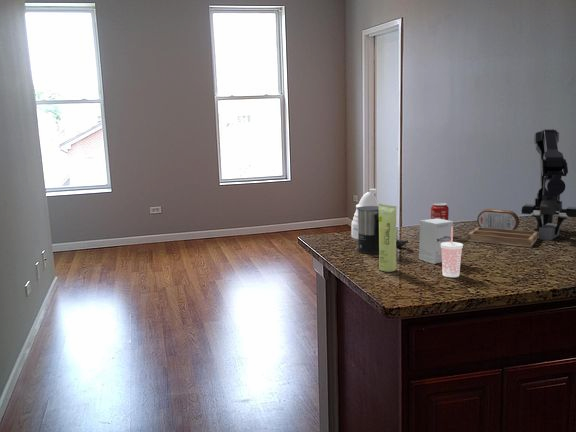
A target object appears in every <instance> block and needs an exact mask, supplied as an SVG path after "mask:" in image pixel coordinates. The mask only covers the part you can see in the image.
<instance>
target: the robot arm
mask: <svg viewBox="0 0 576 432" xmlns="http://www.w3.org/2000/svg"><path fill="white" fill-rule="evenodd" d="M559 142H560V132H559V131H557V130H556V129H554V128H552V129H551V128H550V129H549V128H548V129H542V130H541V131H537V132H535V133H534V136H533V143H534V144H535V150H536V152H537V153H538V154H539V162H540V163H539V164H540V165H539V170H540V172H539V175H540V177H539V178H540V183H539V184H540V185H539V186H540V188H539V189H538V191H537V193H536V197H535V198H534V199H533V200H534V201H533V204H530V203H529V204H528V203H527V204H526V203H525V204H523V206H522V207H521V214H522V215H531V214H532V215H531V217H534V218H535V220H536V226H535V227H534V228H533V230H535V231H539V228H540V227H542V226H544V225H546V224H548V223H552V224H554V216H555V215H556V216H557V215H558V217H557V221H556V224H557V226H556V233H555V235H557V233H558V231H559V232H560V230H561V229H560V228H561V226H562V224H563V222H564V221H565V220H567V219H568V218H576V206H567V208H563V200H562V201H561V195H562V194H563V193H564V192H565V190H566V183H565V181H564V180H562V177H567V175H568V173H569V169H568V161H567V159H565V157H564V154H563V153H562V152H561V151H559V147H558V143H559ZM559 229H560V230H559Z"/></svg>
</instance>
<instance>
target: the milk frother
mask: <svg viewBox="0 0 576 432" xmlns="http://www.w3.org/2000/svg"><path fill="white" fill-rule="evenodd" d="M356 209H358V239H357V240H358V241H357V242H358V243H357V251H358V253H362V254H379V206H363V207H358V208H356ZM406 244H409V240H401V239H398V240H397V239H396V249H401V248H402V247H403V246H405V245H406Z"/></svg>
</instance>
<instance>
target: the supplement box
mask: <svg viewBox="0 0 576 432" xmlns="http://www.w3.org/2000/svg"><path fill="white" fill-rule="evenodd" d="M451 227H453V228H454V221H452V220H450V219H448V220H444V219H438V218H436V219H431V218H429V219H422V220H420V221H419V242H418V243H419V246H418V249H419V250H418V251H419V252H418V253H419V254H418V259H419V260H421V261H424V262H426V263H429V264H433V265H435V264H442V248H441V243H443V242H451Z"/></svg>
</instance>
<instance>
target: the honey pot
mask: <svg viewBox="0 0 576 432" xmlns="http://www.w3.org/2000/svg"><path fill="white" fill-rule="evenodd" d="M377 191H378V190H377V188H369V191H367V192H365V193H364V194H363V195H362V196H361V198H360V200H359V202H358V203H357V204H355V208H356V209H355V212H354V214H353V215H354V216H353V218H352V221H351V223H350V224H351V235H350V236H351V238H352V239H355V240H358V209H357V208H358V207H363V206H379V204H380V203H379V201H378V199H377V197H376V196H375V194H376V193H377Z"/></svg>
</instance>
